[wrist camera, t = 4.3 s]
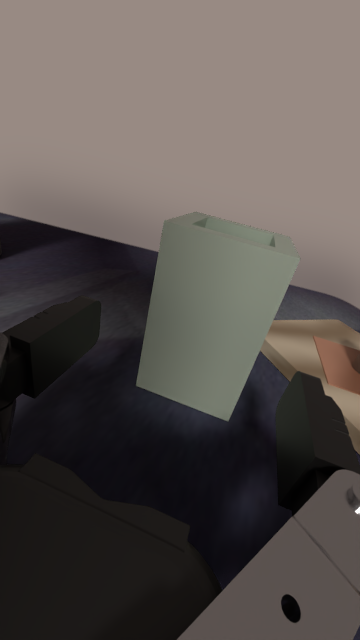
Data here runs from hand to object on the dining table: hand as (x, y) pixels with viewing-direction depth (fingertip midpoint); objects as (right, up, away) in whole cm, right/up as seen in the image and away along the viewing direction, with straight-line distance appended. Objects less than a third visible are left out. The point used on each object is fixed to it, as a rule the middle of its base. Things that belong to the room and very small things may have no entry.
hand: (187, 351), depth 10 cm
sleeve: (+1, -3, +8) cm, 9 cm away
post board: (+14, -4, +12) cm, 19 cm away
